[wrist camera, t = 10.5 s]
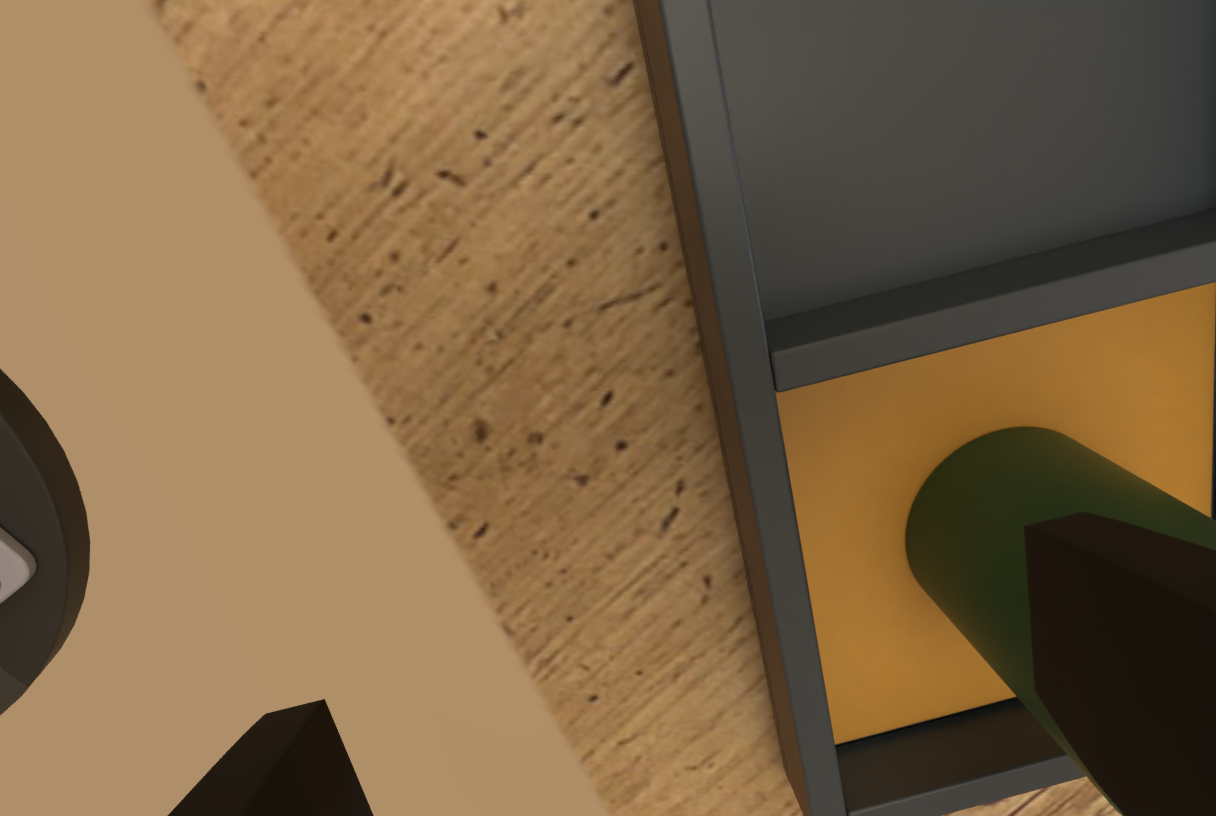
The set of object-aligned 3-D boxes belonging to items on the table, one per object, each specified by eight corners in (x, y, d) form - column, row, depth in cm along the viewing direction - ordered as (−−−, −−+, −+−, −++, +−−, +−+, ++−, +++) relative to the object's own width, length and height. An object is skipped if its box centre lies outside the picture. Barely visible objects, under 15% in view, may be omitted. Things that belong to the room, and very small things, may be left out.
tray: (784, 772, 21) (818, 850, 19) (572, -308, 14) (584, -393, 11) (1227, 654, 21) (1312, 717, 19) (1261, -466, 14) (1407, -579, 12)
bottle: (965, 649, 20) (1341, 1089, 11) (866, 511, 18) (1206, 887, 9) (1136, 535, 19) (1680, 897, 10) (1049, 383, 18) (1595, 652, 9)
